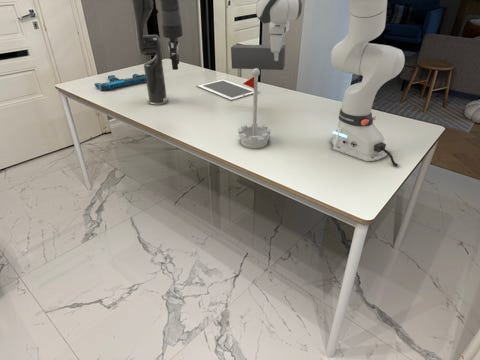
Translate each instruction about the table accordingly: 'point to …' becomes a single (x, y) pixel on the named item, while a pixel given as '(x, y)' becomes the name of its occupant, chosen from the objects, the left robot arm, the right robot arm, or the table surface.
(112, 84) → the submachine gun
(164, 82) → the left robot arm
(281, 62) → the box
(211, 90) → the tablet
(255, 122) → the flag stand
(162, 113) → the table surface
